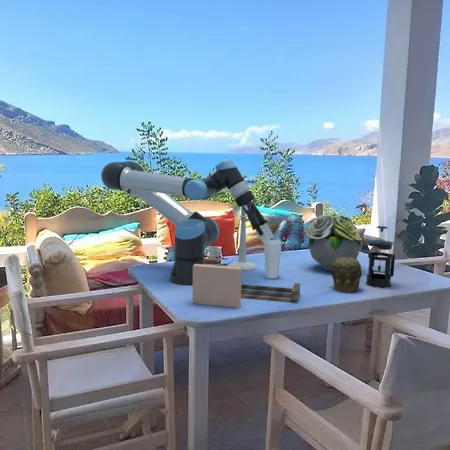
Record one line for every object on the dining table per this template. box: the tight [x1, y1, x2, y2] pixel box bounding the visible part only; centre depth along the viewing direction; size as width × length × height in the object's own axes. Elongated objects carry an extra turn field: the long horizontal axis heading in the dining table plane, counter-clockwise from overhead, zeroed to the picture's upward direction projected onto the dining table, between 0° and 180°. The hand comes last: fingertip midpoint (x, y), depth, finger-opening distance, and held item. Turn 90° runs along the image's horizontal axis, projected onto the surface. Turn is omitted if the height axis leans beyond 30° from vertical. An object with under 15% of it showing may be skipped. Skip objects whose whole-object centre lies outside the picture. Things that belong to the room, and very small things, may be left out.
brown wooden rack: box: [241, 282, 301, 304], centre depth 171 cm, size 28×10×4 cm, turn 76°
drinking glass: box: [263, 239, 282, 280], centre depth 194 cm, size 7×7×15 cm
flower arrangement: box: [305, 213, 363, 272], centre depth 208 cm, size 25×25×24 cm
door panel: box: [192, 263, 243, 309], centre depth 160 cm, size 16×3×13 cm, turn 76°
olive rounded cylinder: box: [330, 257, 362, 293], centre depth 180 cm, size 11×11×12 cm
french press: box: [365, 225, 396, 289], centre depth 186 cm, size 12×9×23 cm
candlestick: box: [227, 206, 258, 272], centre depth 209 cm, size 13×13×30 cm
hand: (269, 240), depth 191 cm, fingers open, 13 cm apart
